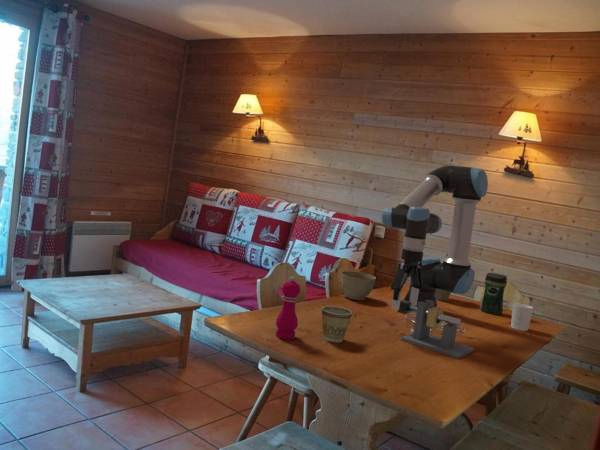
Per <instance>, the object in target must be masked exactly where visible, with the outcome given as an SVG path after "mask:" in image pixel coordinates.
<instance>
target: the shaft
mask: <svg viewBox="0 0 600 450" xmlns="http://www.w3.org/2000/svg"><path fill="white" fill-rule="evenodd" d="M411 303H412V302H409V301H406V300H404V299H403V300H401V301H400V307H399V310H397V313H400V314H403V315H407V314H410V313H411V314H415V315H416V312H417V307H415V306H411ZM427 315H428V310H426V317H427ZM437 320H439V321H442V322H443V323H446V324H448V323H449V324H453V325H456V326H457V327H460V326H461V324H462V320H461V319H460V318H458V317H453V316H450V315H446V314H444V313H443V314H438V315H437Z"/></svg>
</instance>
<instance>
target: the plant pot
mask: <svg viewBox="0 0 600 450" xmlns="http://www.w3.org/2000/svg"><path fill="white" fill-rule="evenodd" d="M451 294H452V292H449V291H445V290H440V289H436V292H435V295H436V301H442V302H443V301H447V300H448V299H449V297H450V296H451Z"/></svg>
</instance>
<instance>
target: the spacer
mask: <svg viewBox="0 0 600 450" xmlns="http://www.w3.org/2000/svg"><path fill="white" fill-rule="evenodd" d="M438 314H443V315H444V308H441V307H439V306H437V307H433V308H429V309H428V315H427V322H426V326H429V327H430V328H432V329H433V328H435V329H436V328H437V327H441V326H442V322H443V321H439V320H437V315H438Z"/></svg>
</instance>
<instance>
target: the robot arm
mask: <svg viewBox="0 0 600 450" xmlns="http://www.w3.org/2000/svg"><path fill="white" fill-rule="evenodd" d="M488 182H489V181H488V175H487V173H486V171H485V169H482V168H477V167H473V166H472V167H471V166H468V167H467V166H457V165H456V166H455V165H444V166H440V167H438V168H436V169H433V170H432V171H430V172H428V173H427V174H425V176H423V178H422V179H421V183H420V184H418V185H417V186H416V187H415V188H414V189H413V190H412V191H411V192H409V194H408V195H407V196H406V197H404V199H403V200H401V202H400V203H398V204H397V205H396V206H395V207H393V206H388V207H385V208H384V209H383V211H382V214H381V222H382V224H383V226H387V227H390V228H395V229H401V230H405V232H404V237H403V242H402V243H403V244H402V248H403V249H402V251H401V257H400V258H401V260H403V262H399V264H398V266H397V271H396V273H395V275H394V278H393V280H392V283H391V286H390V290H392V291H393V294H392V295H393V296H392V302H391V309H392V310H396V311H398V310H399V307H400V301H402V300H401V298H402V293H403V292H402V289H403V287H404V286H405V284H406V282H407V280H408V278H410V280H409V288H408V290H407V292H406V294H405V297H404V299H403V300H406V301H409V302H412V303H411V306H415V307H417V306H418V302H425V300H431V301H434V307H438V303H437V301H438V300H436V295H435V292H436V289H440V290H445V291H449V292H451V293H452V294H456V295H457V294H458V295H465V294H467V293H468V292H469V291H470V290H471V288H472V286H473V283H474V279H475V273H476V272H475V270H474V269H473V268H472V263H471V262H470V261H469V256H470V249H471V241H472V236H473V228H474V221H475V215H476V209H477V208H476V207H477V204H479V203H480V202H481V201H482V198H484V197H485V196H486V195H487V192H488V188H489V183H488ZM441 193H449V194H452V196H451V199H453V201H454V208H453V216H452V222H451V230H450V231H451V232H450V237H449V244H448V252H447V256H446V257H445V258H444V259H443V260H441V259H440V258H438V257H425V256H424V252H423V251H424V250H425V245H427V244H426V239H427V238H426V237H427V234H429V235H432V234H435V233H437V232H440V230H441V228H442V227H443V221H442V219H441V217H440V215H438V214H436V213H434V212H433V213H431V211H430V209H429V208H427V207H424V206H425V205H426V204H428V202H429V201H431V200H432V198H433V197H434V196H438V195H440V194H441Z"/></svg>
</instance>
